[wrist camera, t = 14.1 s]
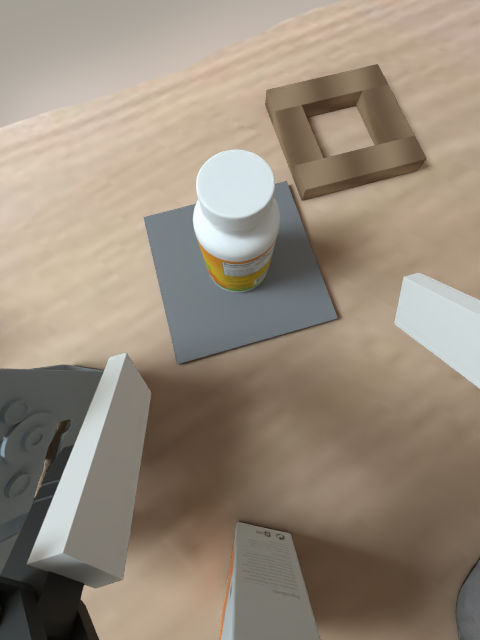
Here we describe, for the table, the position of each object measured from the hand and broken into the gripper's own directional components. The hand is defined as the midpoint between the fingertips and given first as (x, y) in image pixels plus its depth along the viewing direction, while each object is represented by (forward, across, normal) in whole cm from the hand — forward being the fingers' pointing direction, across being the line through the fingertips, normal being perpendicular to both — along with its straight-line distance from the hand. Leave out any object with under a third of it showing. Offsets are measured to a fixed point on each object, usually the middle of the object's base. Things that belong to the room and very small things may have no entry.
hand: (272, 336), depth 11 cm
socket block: (+20, +14, +7) cm, 25 cm away
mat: (+12, 0, -1) cm, 12 cm away
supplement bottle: (+12, 0, -1) cm, 12 cm away
